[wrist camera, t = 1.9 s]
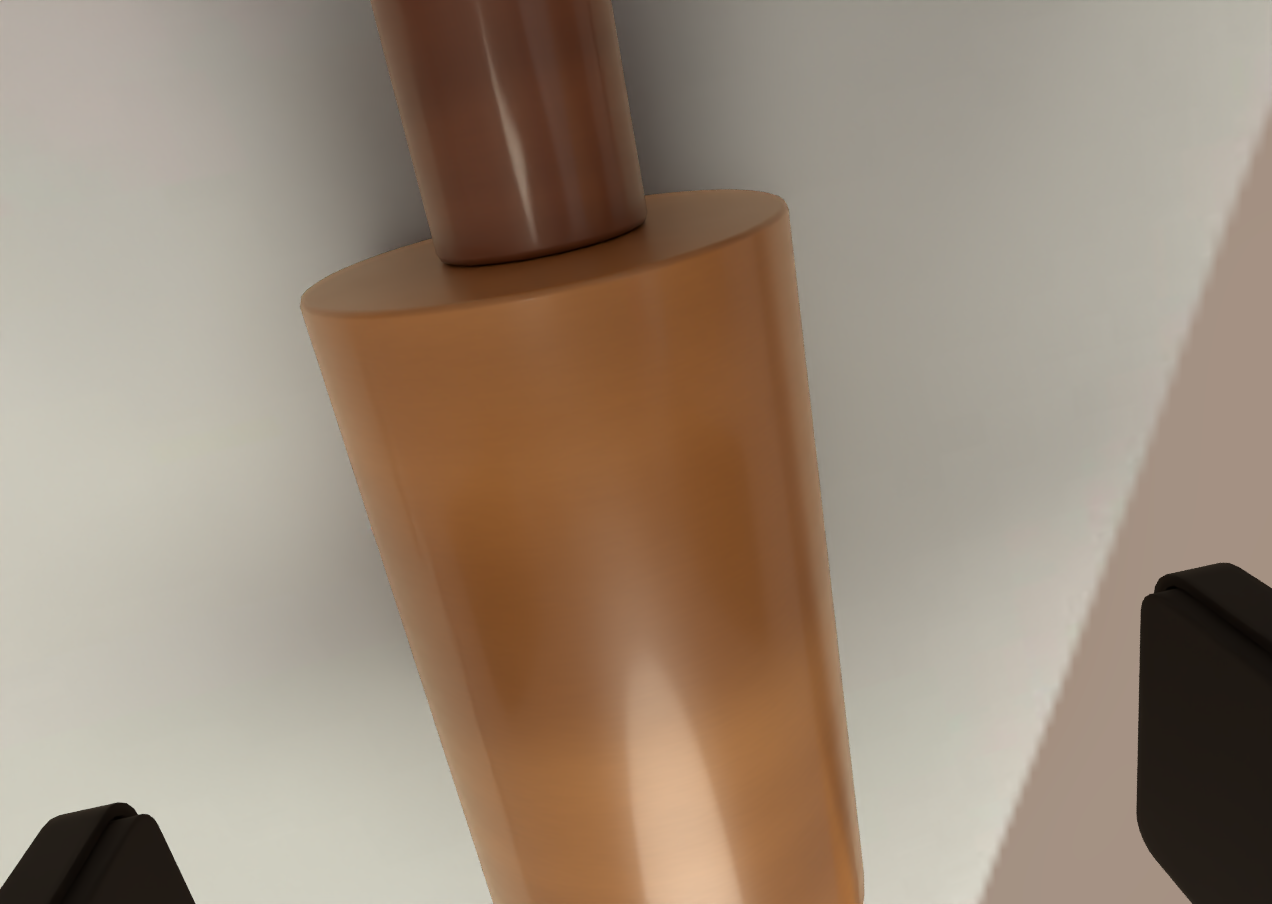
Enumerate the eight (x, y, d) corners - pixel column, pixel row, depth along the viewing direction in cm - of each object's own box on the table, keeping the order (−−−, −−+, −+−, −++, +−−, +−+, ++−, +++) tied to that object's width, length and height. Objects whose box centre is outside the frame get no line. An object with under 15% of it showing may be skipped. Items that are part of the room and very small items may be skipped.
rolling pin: (307, -11, 11) (53, -70, 6) (725, -99, 10) (783, -230, 6) (567, 906, 17) (533, 1231, 12) (846, 873, 16) (922, 1196, 11)
